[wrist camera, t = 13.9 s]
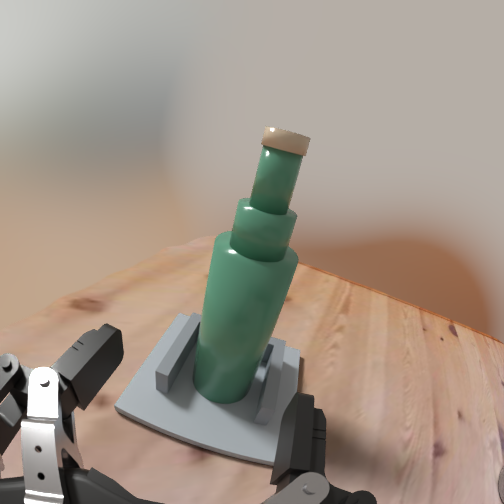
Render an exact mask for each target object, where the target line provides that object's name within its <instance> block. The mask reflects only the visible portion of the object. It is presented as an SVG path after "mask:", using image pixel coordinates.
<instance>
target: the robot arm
mask: <svg viewBox="0 0 504 504" xmlns="http://www.w3.org/2000/svg"><path fill="white" fill-rule="evenodd" d="M123 355H124V351H123V342H122V333H121V330H119V329H117V328H115V327H113V326H111V325H109V324H104V325H103V326H102V327H101V328H100V329H99V330H98V331H97V330H95V329H93V330H91V331H88V332H86V333H84V334H83V335H82V336H81V337H80V338H79V339H78V340H77V342H75V343H74V344H73V345H72V347H70V348H69V349H68V350H67V351H66V352H65V353H64V354H63V355H62V356H61V357H60V358H59V359H58V360H57V361H56V362H55V363H54V364H53V365H52V366H51V367H50V368H45V367H42V368H38V369H36V370H33V369H31V368H28V367H25V366H23V365H20V363H19V361H18V359H17V357H16V356H15V355H13V354H10V353H6V354H3V355H1V356H0V403H1V402H2V400H3V399H4V398H5V397H6V395H7V394H8V393H9V392H10V394H9V395H8V396H7V397H6V399H5V400H4V401H3V402H2V404H1V405H0V504H163V503H158V502H153V501H148V500H143V499H139V498H136V497H135V496H133V495H132V494H131V493H129V492H128V491H127V490H125V489H124V488H123V487H122V486H120V485H119V484H118V483H117V482H116V481H114V480H113V479H111V478H109V477H107V476H106V475H104V474H102V473H100V472H99V471H97V470H95V469H94V468H91V469H90V470H87V469H84V465H83V461H82V457H81V454H80V452H79V449H78V445H77V438H76V430H75V419H74V411H73V410H74V409H75V408H76V406H78V407H79V408H81V409H82V410H85V409H86V407H87V406H88V405H89V403H90V402H91V401H92V399H93V398H94V397H95V396H96V394H97V393H98V392H99V390H100V389H101V388H102V386H103V385H104V384H105V382H106V381H107V380H108V379H109V377H110V376H111V375H112V373H113V372H114V371H115V370H116V368H117V367H118V366H119V364H120V363H121V361H122V359H123ZM20 428H21V445H22V462H23V473H24V476H21V477H14V478H4V479H1V471H3V470H4V468H5V467H4V464H3V459H2V455H3V453H4V452H5V450H6V449H7V447H8V446H9V444H10V443H11V441H12V440H13V438H14V437H15V435H16V434H17V432H18V431H19V429H20ZM325 439H326V418H325V416H324V413H323V411H322V409H317V408H314V396H313V395H308V394H304V393H299V392H296V393H295V395H294V396H293V398H292V400H291V401H290V403H289V404H288V406H287V408H286V409H285V411H284V414H283V416H282V420H281V425H280V432H279V438H278V443H277V449H276V455H275V460H274V466H273V471H272V476H271V481H270V484H272V485H277V489H276V493H275V494H273V495H272V496H271V497H269V498H268V499H267V500H265V501H264V502H262V503H261V504H377V501H376V498H375V497H374V495H373V494H371V493H370V492H368V491H363V490H362V491H356V492H354V493H351V492H348V491H345V490H342V489H339V488H337V487H334V486H333V485H331V484H330V483H329V482H328V480H327V479H326V476H325V473H324V467H325V447H326V441H325ZM499 493H500V497H501V499H502V502H503V503H504V466H503V468H502V470H501V472H500V476H499Z"/></svg>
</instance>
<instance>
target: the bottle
mask: <svg viewBox="0 0 504 504" xmlns="http://www.w3.org/2000/svg"><path fill="white" fill-rule="evenodd" d="M309 142H310V138H309V137H306V136H303V135H300V134H297V133H293V132H290V131H286V130H282V129H277V128H273V127H267V126H266V127H265V131H264V135H263V139H262V143H261V144H262V145H263V149H262V153H261V157H260V161H259V165H258V169H257V173H256V177H255V181H254V185H253V189H252V193H251V197H250V198H243V199H240V200H239V202H238V206H237V211H236V215H235V220H234V224H233V228H232V231H228V232H224V233H221V234H219V235H218V236H217V237H216V239H215V243H214V248H213V254H212V259H211V264H210V270H209V275H208V281H207V287H206V292H205V298H204V304H203V310H202V316H201V322H200V328H199V335H198V341H197V348H196V354H195V361H194V368H193V375H192V380H193V384H194V387H195V388H196V390H197V391H198V392H199V394H201V395H202V396H203V397H204V398H206V399H208V400H210V401H212V402H215V403H220V404H231V403H235V402H238V401H240V400H242V399H243V398H244V397H246V395H247V394H248V392H249V390H250V388H251V386H252V383H253V381H254V378H255V376H256V373H257V371H258V369H259V366H260V364H261V361H262V359H263V356H264V354H265V351H266V348H267V346H268V343H269V341H270V338H271V336H272V333H273V330H274V328H275V325H276V322H277V320H278V317H279V314H280V312H281V309H282V306H283V304H284V301H285V298H286V295H287V292H288V290H289V287H290V284H291V281H292V278H293V276H294V273H295V270H296V267H297V264H298V256H297V254H296V253H295V252H294V250H292V249H291V248H290V247H289V246H288V245H289V241H290V238H291V235H292V232H293V229H294V225H295V222H296V219H297V214H296V213H295V212H294V211H292V210H290V209H289V205H290V201H291V198H292V194H293V190H294V187H295V183H296V180H297V176H298V173H299V169H300V166H301V162H302V158H303V156H306V153H307V149H308V145H309Z"/></svg>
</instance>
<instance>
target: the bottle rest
mask: <svg viewBox="0 0 504 504" xmlns="http://www.w3.org/2000/svg"><path fill="white" fill-rule="evenodd" d="M201 316H202V315H199V314H196V313H192V315H191V316H187V315H184V314H181V313H179V314H178V315H177V317H176V318H175V319H174V321H173V322H172V324H171V325H170V326H169V328H168V329H167V331H166V332H165V333H164V335H163V336H162V338H161V339H160V340H159V342H158V343H157V345H156V346H155V347H154V349H153V350H152V352H151V353H150V354H149V356H148V357H147V359H146V360H145V362H144V363H143V364H142V366H141V367H140V369H139V370H138V372H137V373H136V374H135V376H134V377H133V379H132V380H131V382H130V383H129V385H128V386H127V387H126V389H125V390H124V392H123V393H122V395H121V396H120V398H119V399H118V401H117V402H116V403H115V405H114V406H115V410H116V411H118V412H119V413H121V414H123V415H125V416H127V417H129V418H131V419H133V420H135V421H137V422H139V423H142V424H144V425H146V426H148V427H150V428H152V429H155V430H157V431H159V432H162V433H164V434H167V435H169V436H171V437H174V438H177V439H179V440H182V441H185V442H187V443H190V444H193V445H196V446H199V447H202V448H205V449H208V450H211V451H214V452H218V453H221V454H224V455H228V456H232V457H235V458H239V459H243V460H248V461H252V462H256V463H261V464H266V465H271V466H274V460H275V455H276V449H277V443H278V438H279V432H280V425H281V420H282V416H283V414H284V411H285V409H286V408H287V406H288V404H289V403H290V401H291V400H292V398H293V396H294V395H295V393H296V392H297V384H298V372H299V360H300V350H298V349H294V348H291V347H287V346H285V344H286V341H284V340H280V339H277V338H273V337H271V338H270V341H269V343H268V346H267V348H266V351H265V354H264V356H263V359H262V361H261V364H260V366H259V369H258V371H257V373H256V376H255V378H254V381H253V383H252V386H251V388H250V390H249V392H248V394H247V395H246V397H244V398H243V399H242V400H240V401H238V402H235V403H231V404H220V403H215V402H212V401H210V400H208V399H206V398H204V397H203V396H202V395H201V394H199V392H198V391H197V390H196V388H195V387H194V384H193V380H192V375H193V368H194V361H195V354H196V348H197V341H198V335H199V328H200V322H201Z"/></svg>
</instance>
